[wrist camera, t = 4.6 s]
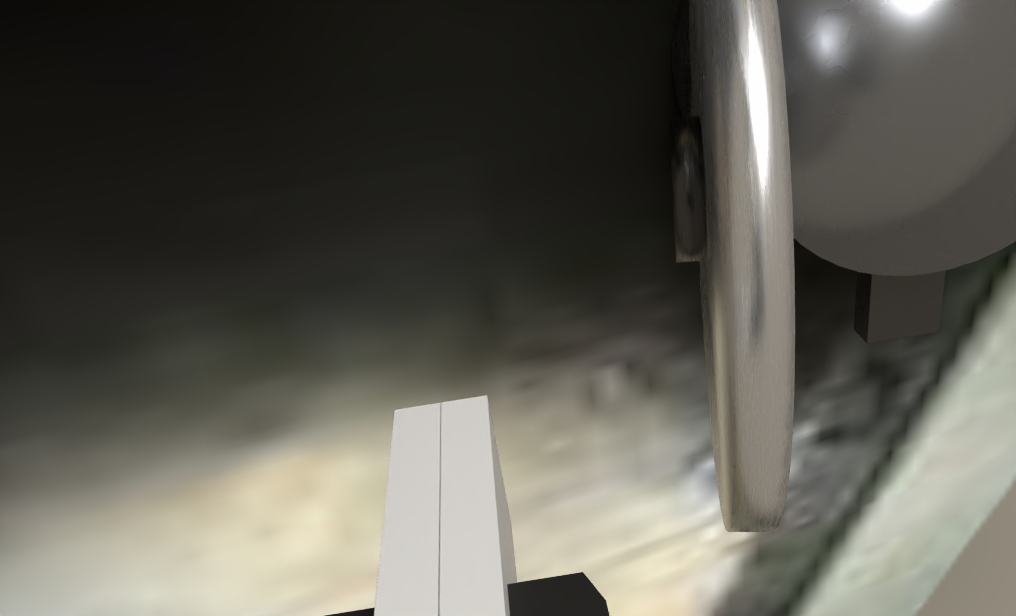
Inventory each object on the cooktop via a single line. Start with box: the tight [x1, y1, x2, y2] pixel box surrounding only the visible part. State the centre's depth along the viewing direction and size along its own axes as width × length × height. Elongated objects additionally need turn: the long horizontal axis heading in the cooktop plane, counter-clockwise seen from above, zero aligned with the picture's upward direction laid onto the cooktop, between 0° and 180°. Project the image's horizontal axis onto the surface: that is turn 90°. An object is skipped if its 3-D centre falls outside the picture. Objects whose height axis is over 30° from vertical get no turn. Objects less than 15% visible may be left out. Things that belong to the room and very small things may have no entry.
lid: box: [669, 0, 795, 532], centre depth 21 cm, size 16×16×2 cm
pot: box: [672, 0, 1016, 343], centre depth 32 cm, size 14×21×10 cm, turn 8°
